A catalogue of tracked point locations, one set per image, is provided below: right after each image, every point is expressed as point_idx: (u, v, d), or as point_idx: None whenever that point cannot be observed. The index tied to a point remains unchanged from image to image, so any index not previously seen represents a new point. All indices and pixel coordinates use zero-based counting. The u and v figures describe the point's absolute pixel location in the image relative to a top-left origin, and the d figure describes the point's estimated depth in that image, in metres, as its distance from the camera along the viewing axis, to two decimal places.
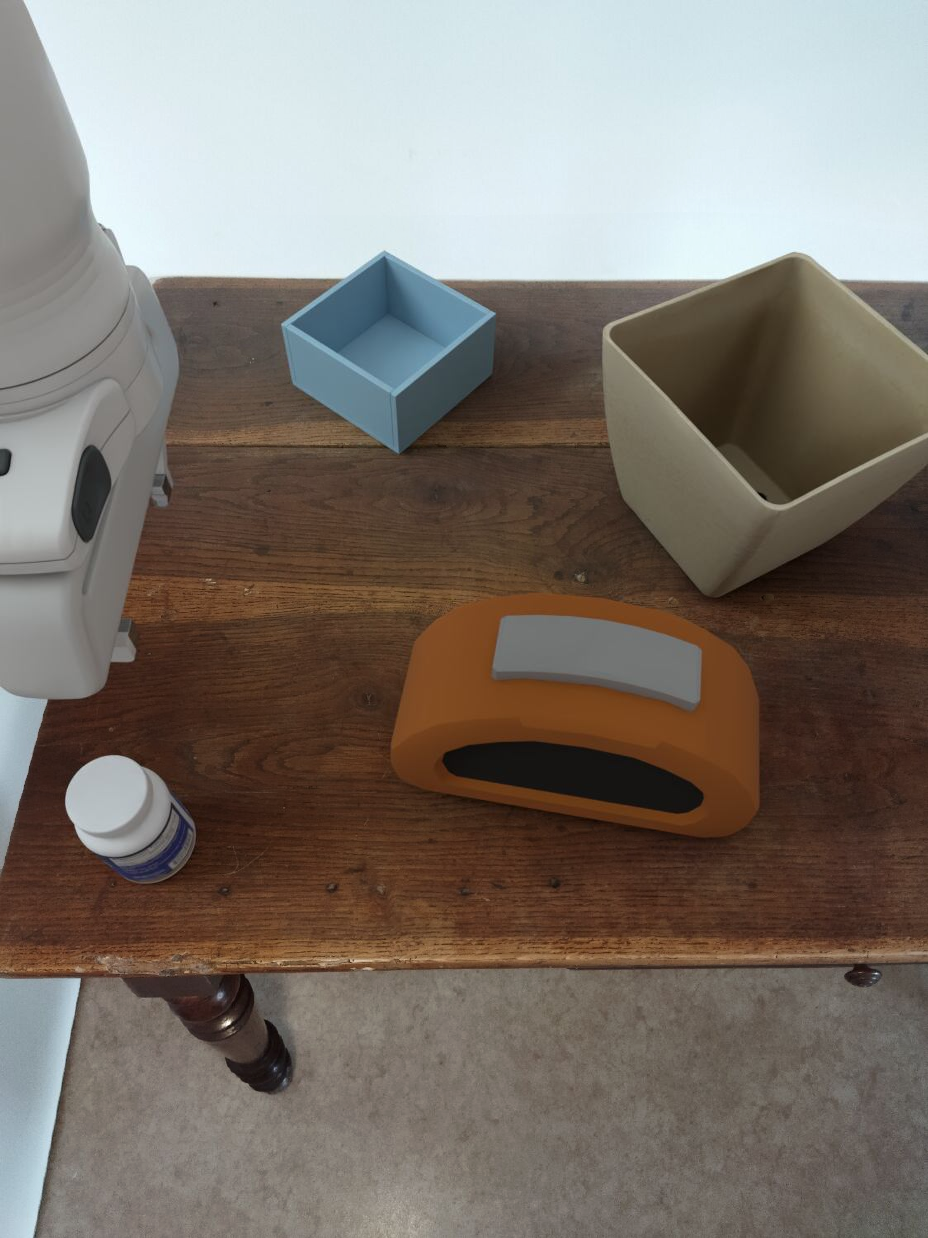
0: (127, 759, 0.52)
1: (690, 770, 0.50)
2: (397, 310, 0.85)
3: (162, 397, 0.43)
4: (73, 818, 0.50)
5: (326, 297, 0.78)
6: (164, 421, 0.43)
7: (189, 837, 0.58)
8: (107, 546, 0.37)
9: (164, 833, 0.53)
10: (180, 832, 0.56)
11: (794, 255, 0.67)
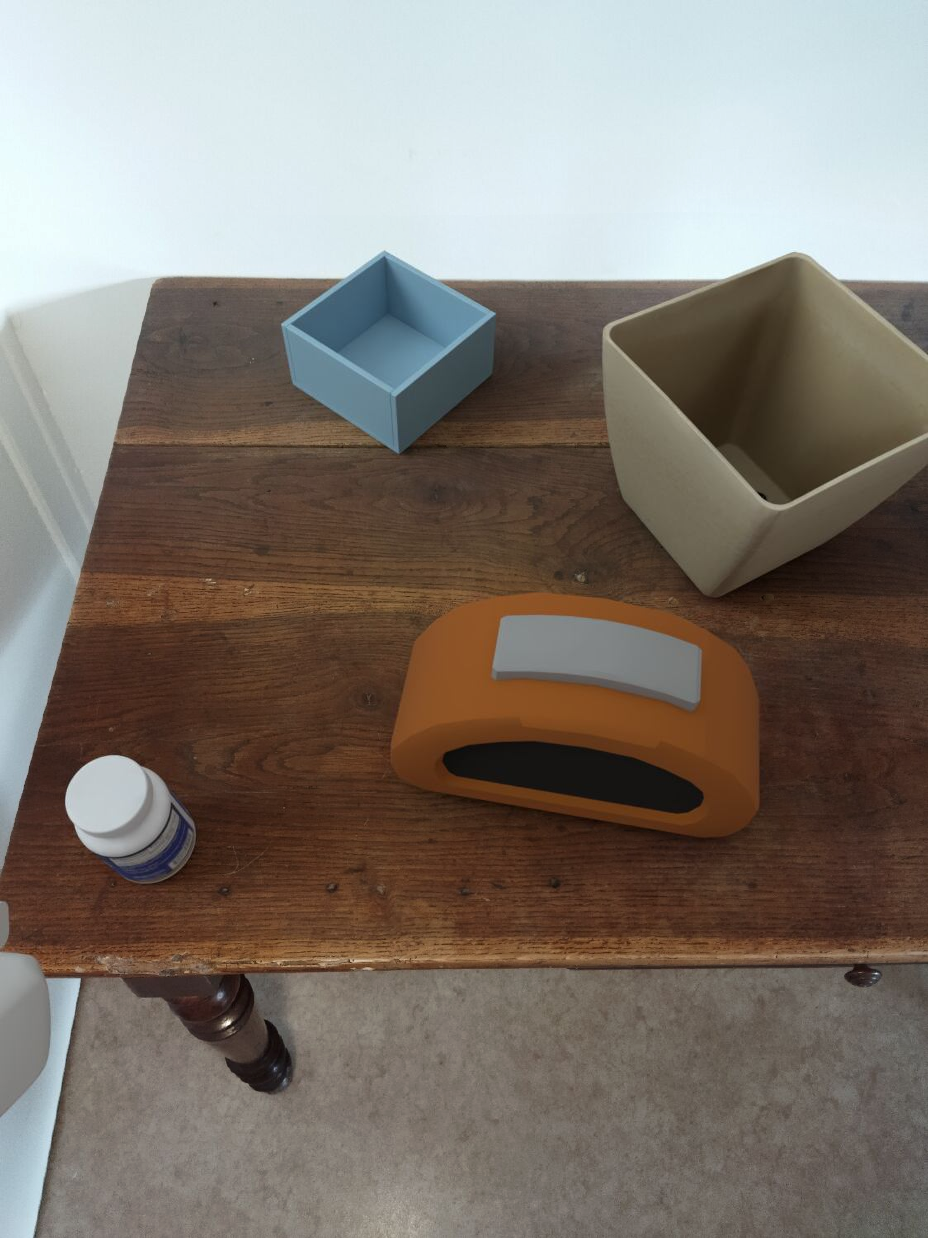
0: (127, 759, 0.52)
1: (690, 770, 0.50)
2: (397, 310, 0.85)
3: None
4: (73, 818, 0.50)
5: (326, 297, 0.78)
6: None
7: (189, 837, 0.58)
8: None
9: (164, 833, 0.53)
10: (180, 832, 0.56)
11: (794, 255, 0.67)
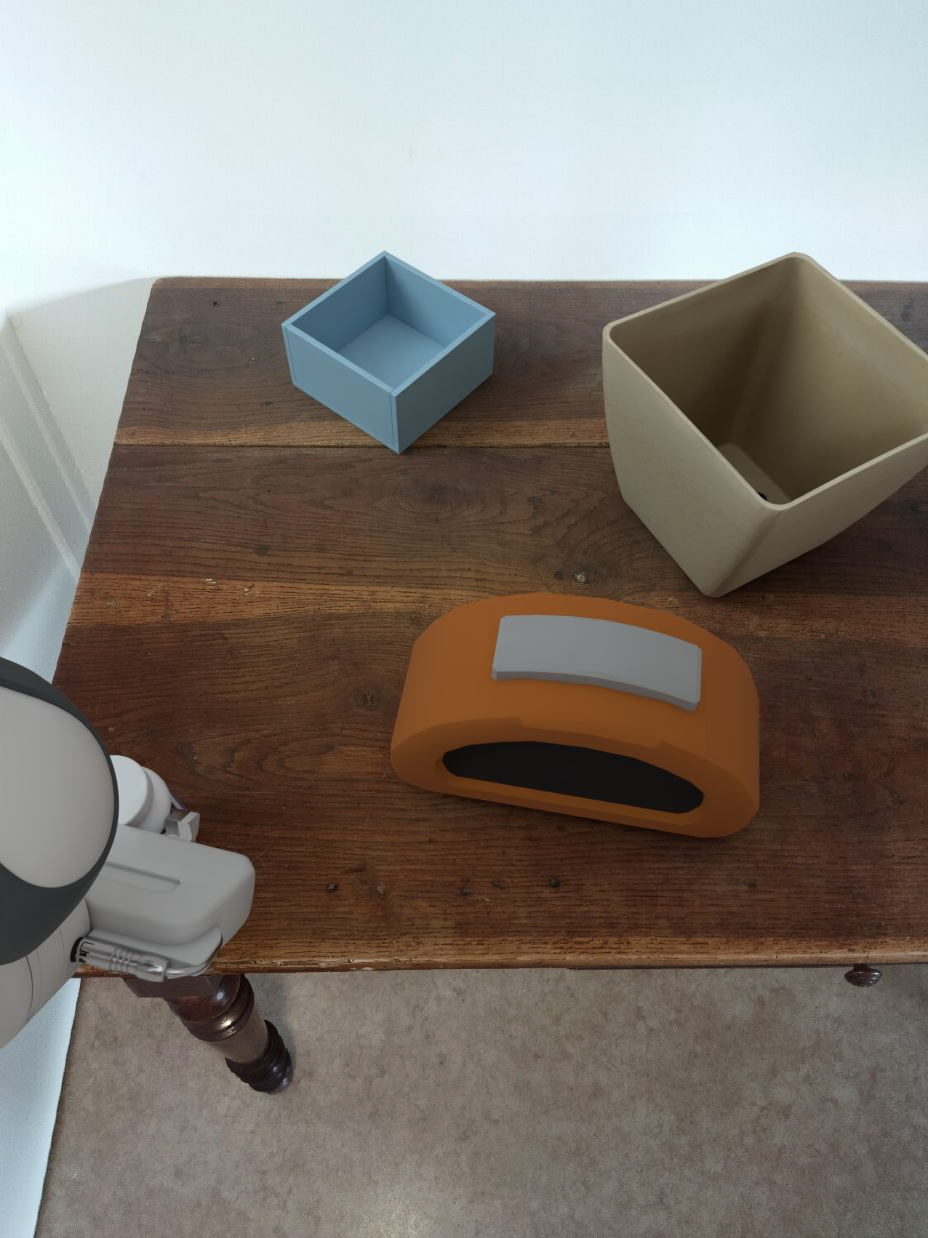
0: (127, 759, 0.52)
1: (690, 770, 0.50)
2: (397, 310, 0.85)
3: None
4: None
5: (326, 297, 0.78)
6: None
7: None
8: None
9: None
10: None
11: (794, 255, 0.67)
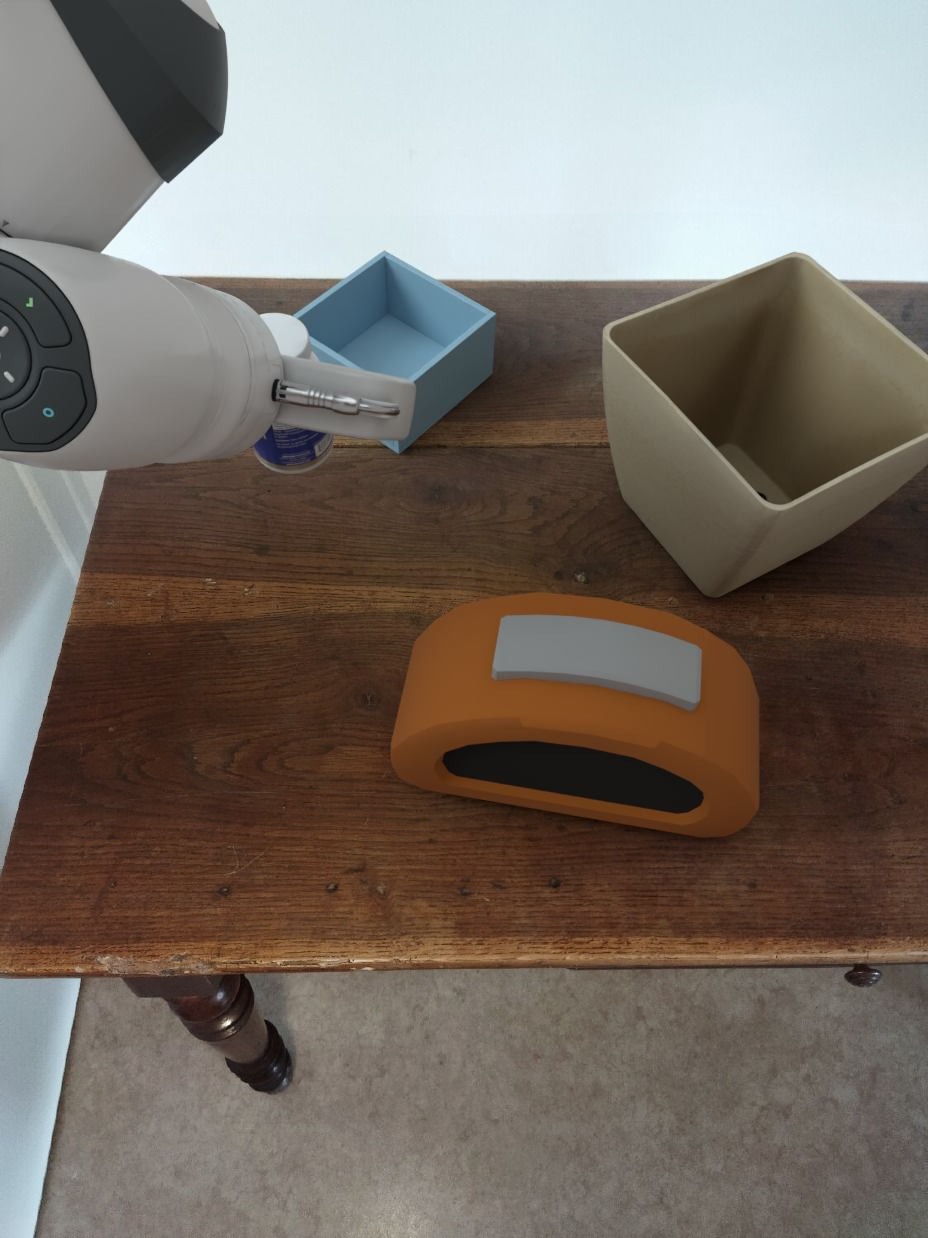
0: (287, 315, 0.56)
1: (690, 770, 0.50)
2: (397, 310, 0.85)
3: None
4: None
5: (326, 297, 0.78)
6: None
7: None
8: None
9: None
10: None
11: (794, 255, 0.67)
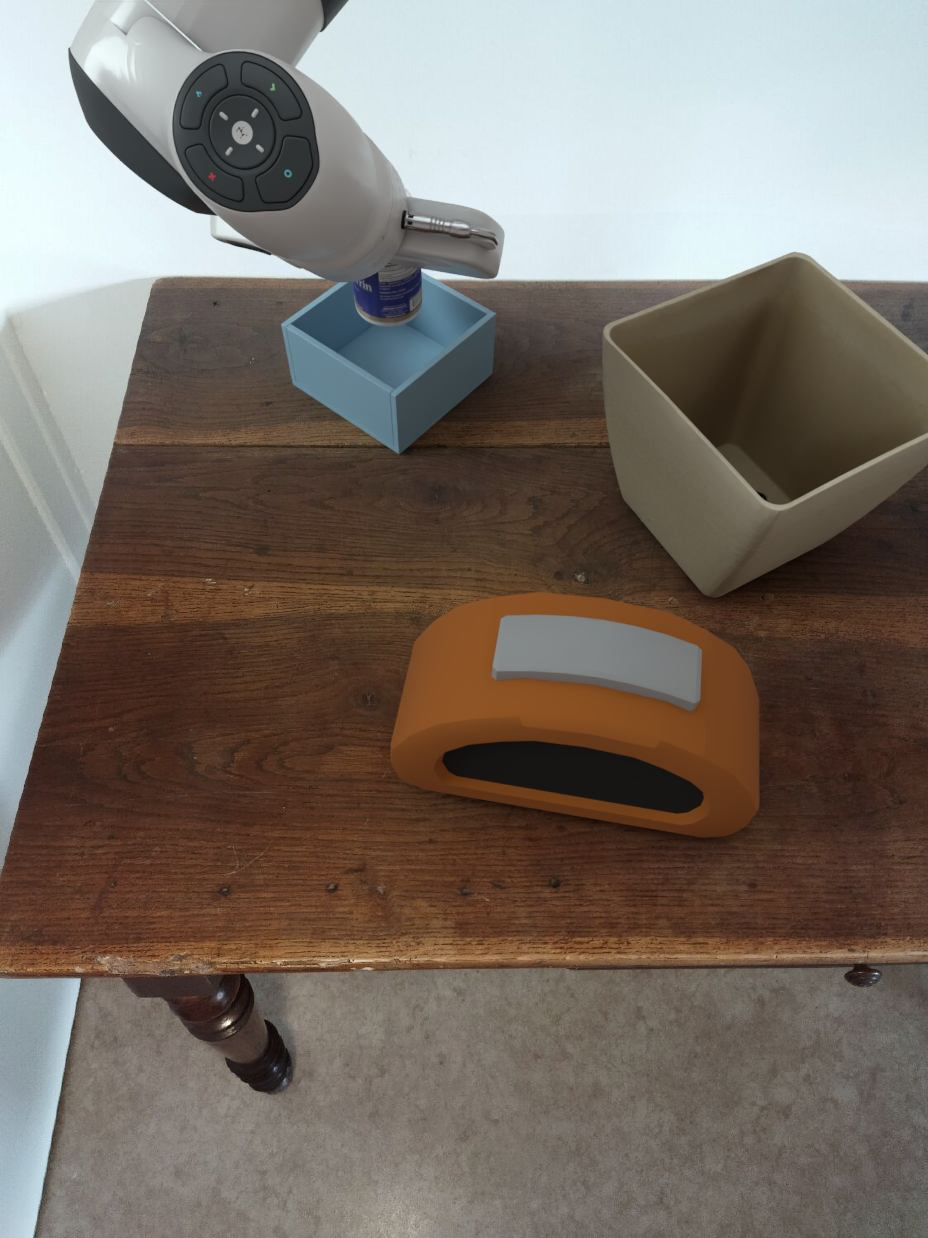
0: None
1: (690, 770, 0.50)
2: None
3: (439, 269, 0.65)
4: None
5: (326, 297, 0.78)
6: (431, 269, 0.66)
7: (421, 289, 0.74)
8: None
9: None
10: (420, 271, 0.72)
11: (794, 254, 0.67)
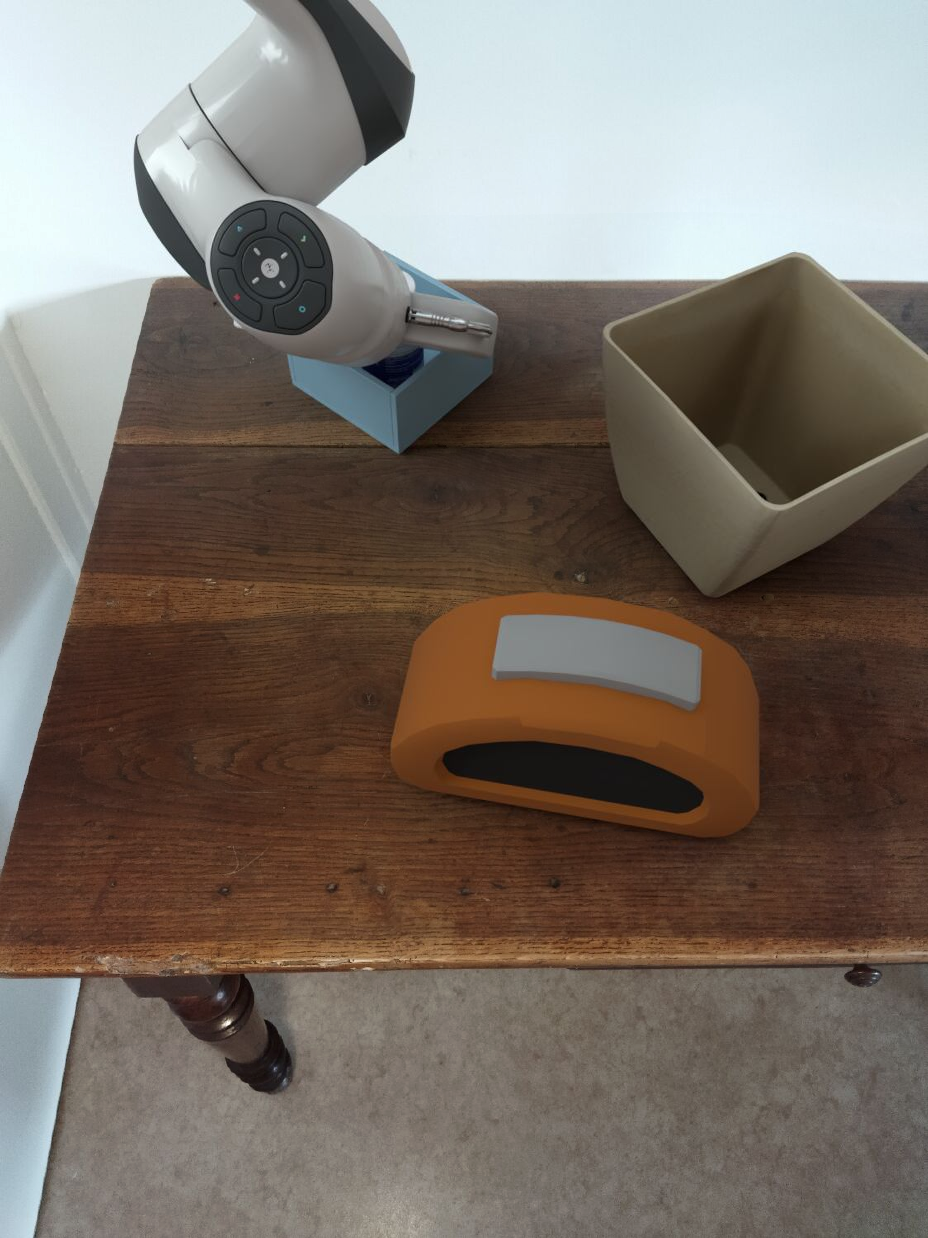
0: None
1: (690, 769, 0.50)
2: None
3: (439, 350, 0.71)
4: None
5: None
6: (431, 349, 0.72)
7: (423, 360, 0.80)
8: None
9: None
10: None
11: (794, 255, 0.67)
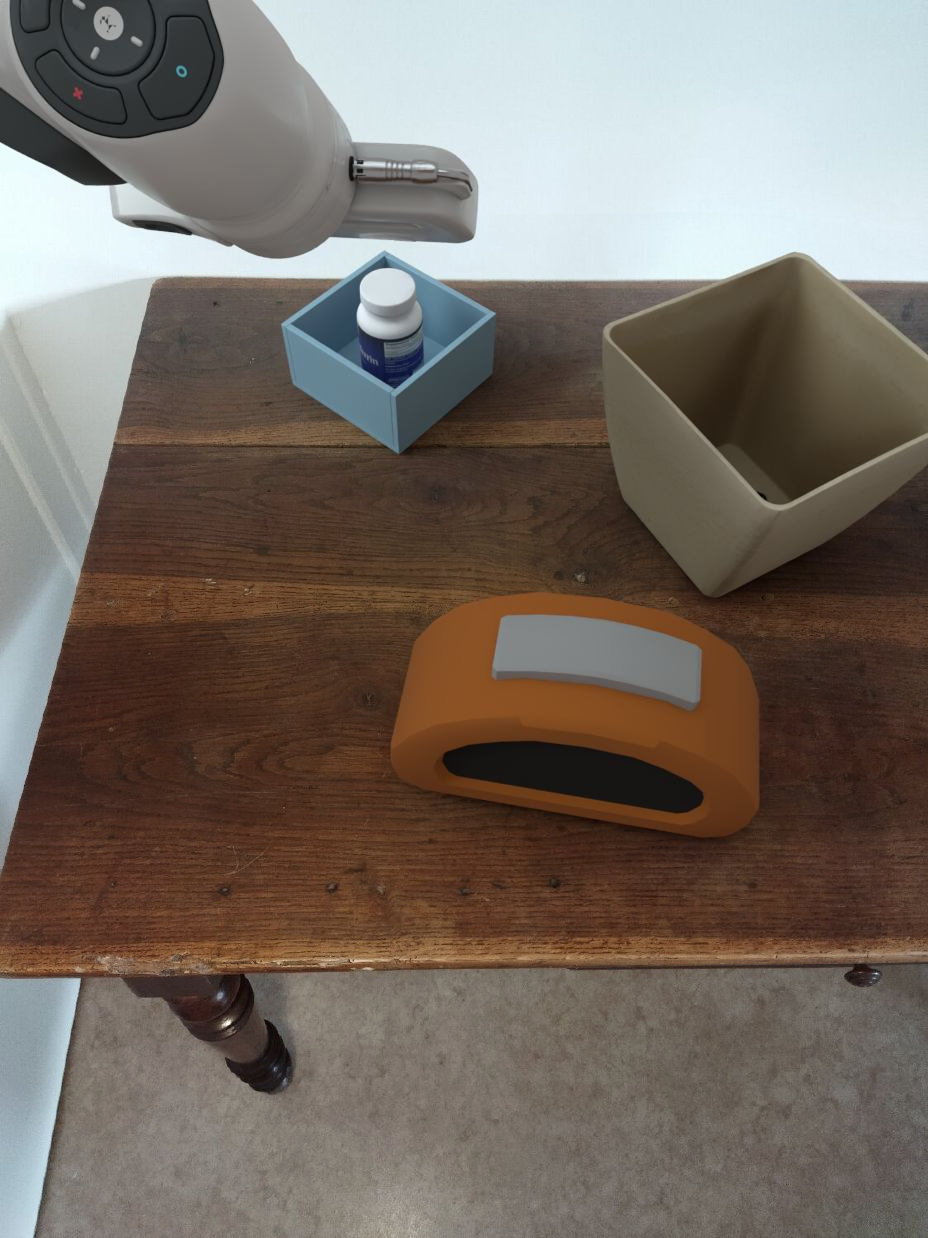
0: (398, 269, 0.75)
1: (690, 769, 0.50)
2: None
3: (403, 236, 0.53)
4: (368, 298, 0.73)
5: (326, 297, 0.78)
6: (393, 239, 0.53)
7: (423, 360, 0.80)
8: None
9: (419, 331, 0.76)
10: (422, 346, 0.78)
11: (794, 255, 0.67)
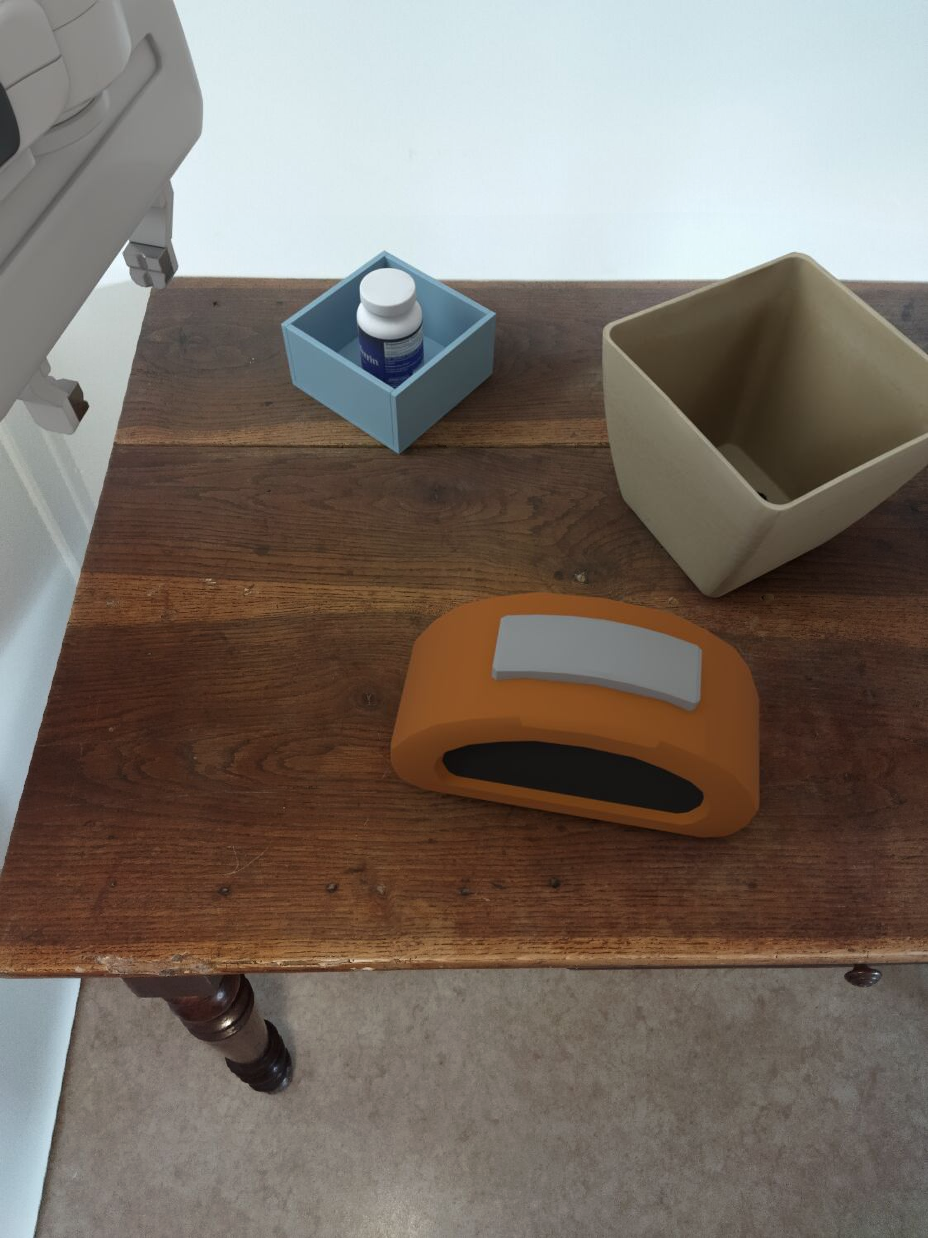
0: (398, 269, 0.75)
1: (690, 769, 0.50)
2: None
3: (166, 140, 0.37)
4: (368, 298, 0.73)
5: (326, 297, 0.78)
6: (164, 170, 0.37)
7: (423, 360, 0.80)
8: (35, 257, 0.31)
9: (419, 331, 0.76)
10: (422, 346, 0.78)
11: (794, 255, 0.67)
